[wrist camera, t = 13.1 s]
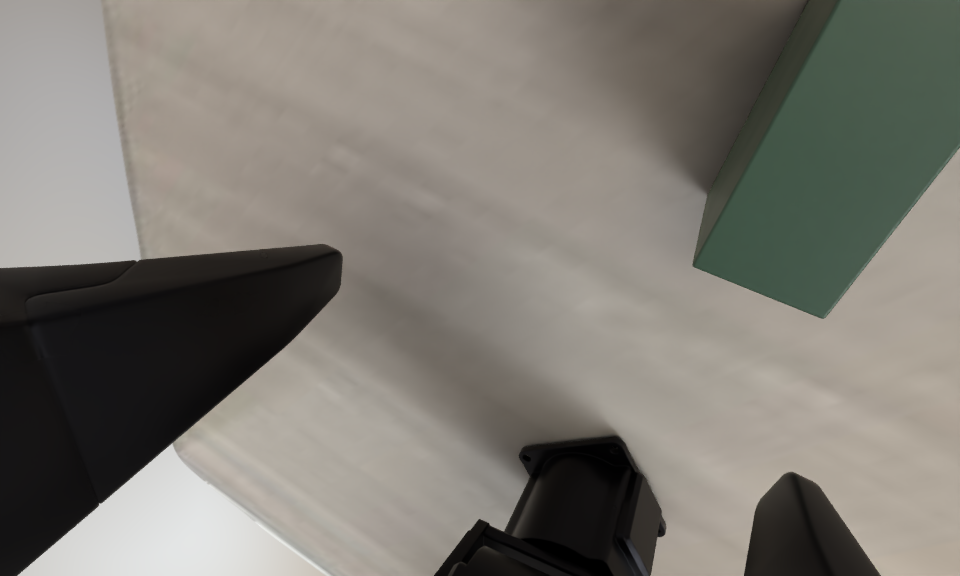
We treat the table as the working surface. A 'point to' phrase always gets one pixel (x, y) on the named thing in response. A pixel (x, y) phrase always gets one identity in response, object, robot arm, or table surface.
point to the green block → (835, 149)
